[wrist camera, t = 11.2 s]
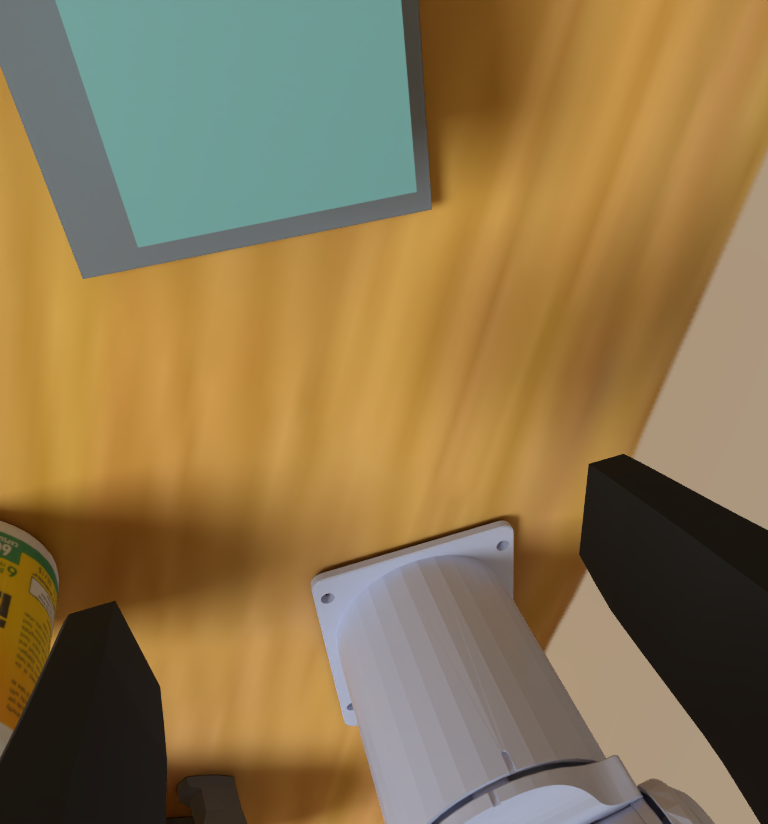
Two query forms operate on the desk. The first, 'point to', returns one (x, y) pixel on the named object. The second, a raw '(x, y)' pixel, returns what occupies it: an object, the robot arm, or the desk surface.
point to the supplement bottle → (23, 620)
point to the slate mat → (91, 171)
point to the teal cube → (244, 107)
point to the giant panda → (209, 801)
